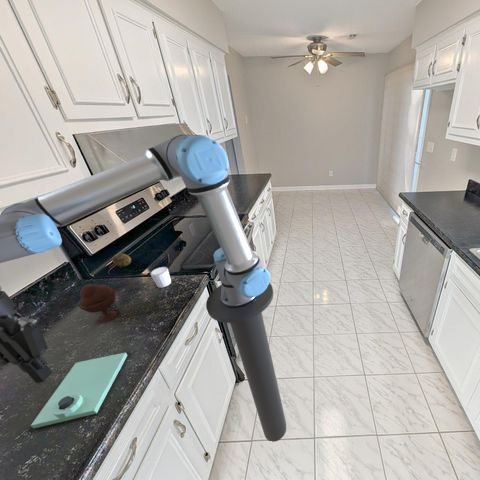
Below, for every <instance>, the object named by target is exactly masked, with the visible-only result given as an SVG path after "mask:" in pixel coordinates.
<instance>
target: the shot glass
mask: <svg viewBox="0 0 480 480" xmlns="http://www.w3.org/2000/svg"><path fill="white" fill-rule="evenodd" d="M149 275H150V276H151V278H152V279H153V281H154V283H155V285H156V287H158V288H161V289H162V288H165V287H168V286H170V284H172V279H171V275H170V272H169V268H168V267H166V266H161V267H160V266H159V267H156V268H154V269H153V270H151V271H150V274H149Z"/></svg>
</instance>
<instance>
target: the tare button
mask: <svg viewBox="0 0 480 480" xmlns="http://www.w3.org/2000/svg"><path fill="white" fill-rule="evenodd" d="M72 403H73V399H72V398H71V397H70V396H66V397H64V398H62V399H61V400H60V401H59V402H58V405H59V407H60V408H61V409H65V408H67V407H69V406H70V405H71V404H72Z"/></svg>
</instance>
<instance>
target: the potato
mask: <svg viewBox="0 0 480 480" xmlns="http://www.w3.org/2000/svg"><path fill="white" fill-rule="evenodd" d="M111 261H112V263H113V264H114V265H115V266H117V267H118V268H123V267H127V266H129V265H130V264H131V263H132V258H131V256H129V255H128V254H126V253H118V254H115V255H114V256H113V257H112V258H111Z"/></svg>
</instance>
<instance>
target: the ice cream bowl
mask: <svg viewBox="0 0 480 480" xmlns="http://www.w3.org/2000/svg"><path fill="white" fill-rule="evenodd" d="M79 295H80V299H79V302H78V305H77V307H78V308H79V309H81V310H82V311H84V312H88V313H94V314H95V313H101V312H102V315H101V316H100V317H99V322H101V323H106V322H110V321H111V320H113V319H115V317H116V316H118V312H117V311H115V310H111V311H110V310H109V308H110V307H111V306H112V305H113V304H114V303H115V301H116V296H117V292H116V290H115V289H114V288H112V287H110V286H109V285H107V284H96V283H87V284H85V285H84V286H82V287H81V288H80V290H79Z"/></svg>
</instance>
